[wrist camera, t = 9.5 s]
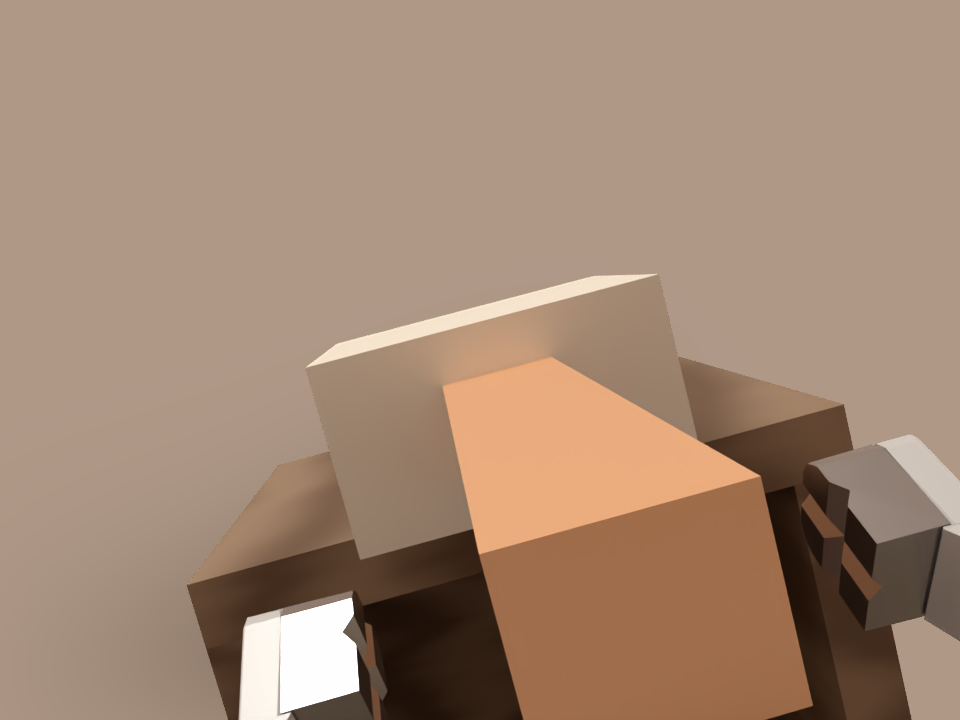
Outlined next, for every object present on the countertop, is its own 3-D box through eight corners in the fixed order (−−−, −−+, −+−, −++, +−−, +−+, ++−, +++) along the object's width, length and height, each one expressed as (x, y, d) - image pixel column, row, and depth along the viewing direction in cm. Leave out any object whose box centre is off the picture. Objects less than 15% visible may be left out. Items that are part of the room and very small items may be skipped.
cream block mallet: (267, 995, 8) (115, 512, 8) (376, 483, 29) (337, 343, 29) (1126, 739, 9) (1037, 263, 8) (627, 415, 30) (593, 276, 29)
